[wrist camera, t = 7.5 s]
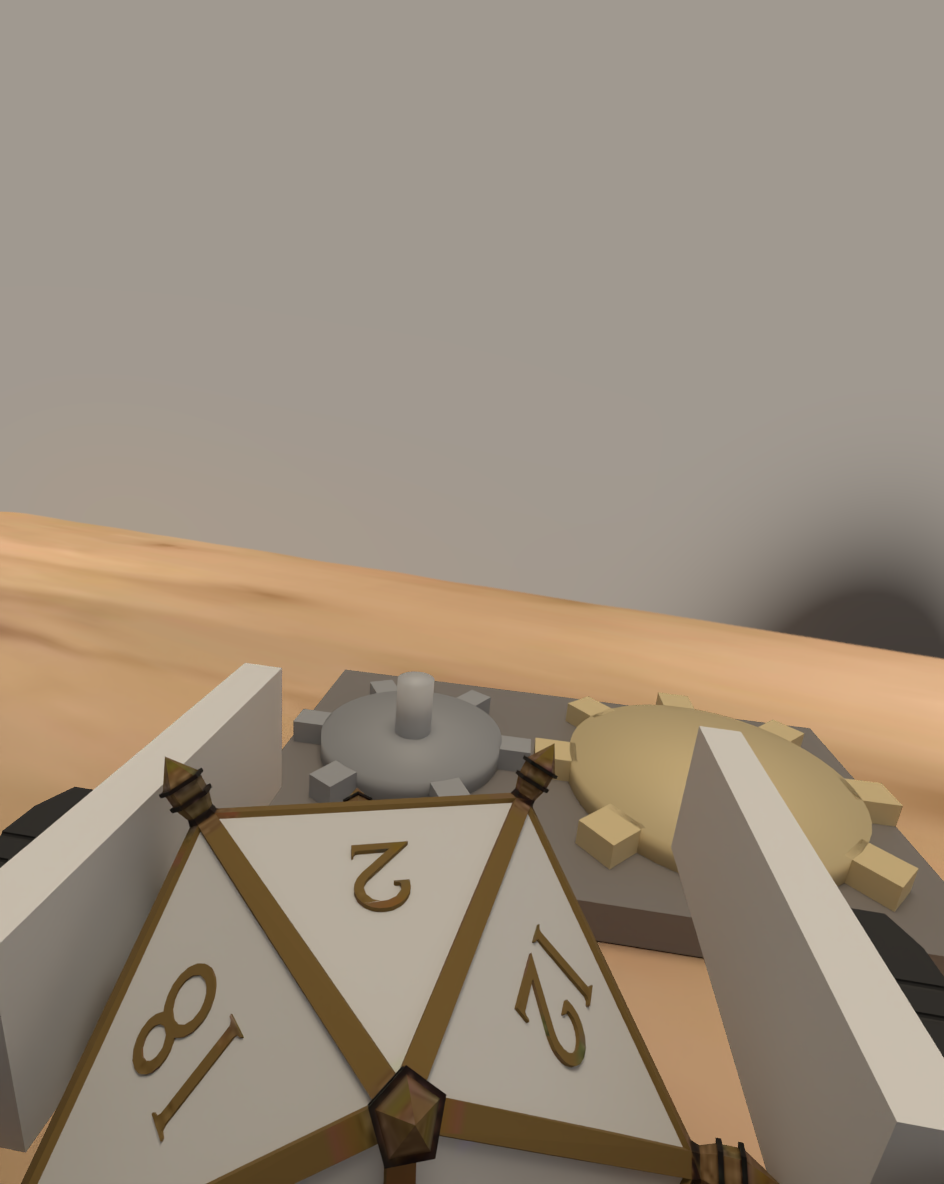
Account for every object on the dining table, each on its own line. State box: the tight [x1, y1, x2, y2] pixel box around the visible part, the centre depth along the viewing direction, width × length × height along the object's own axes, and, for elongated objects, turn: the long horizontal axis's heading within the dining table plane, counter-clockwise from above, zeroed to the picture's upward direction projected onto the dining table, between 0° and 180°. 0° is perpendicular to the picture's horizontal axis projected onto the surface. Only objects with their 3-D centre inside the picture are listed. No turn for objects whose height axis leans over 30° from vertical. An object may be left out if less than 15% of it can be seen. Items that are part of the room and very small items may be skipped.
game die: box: [21, 743, 779, 1184], centre depth 8 cm, size 9×8×10 cm
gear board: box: [268, 670, 944, 976], centre depth 26 cm, size 26×15×5 cm, turn 84°
